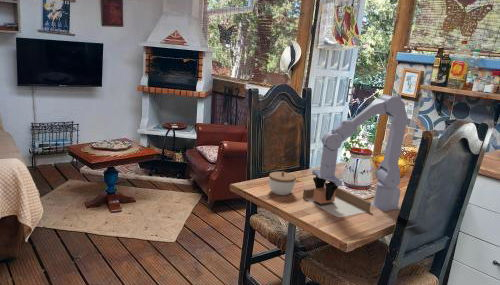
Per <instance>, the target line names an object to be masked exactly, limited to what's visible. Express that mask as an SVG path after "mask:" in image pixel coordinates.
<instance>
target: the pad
mask: <svg viewBox="0 0 500 285" xmlns="http://www.w3.org/2000/svg"><path fill="white" fill-rule="evenodd" d="M311 202H313V203H315V204H316V205H315V204H314V205H315V206H317V205H318V206H320V207H321V206H326V205H332V204H336V203H334V202H328V203H322V204H320V203H318V202H316V201H315V200H314V201H311ZM311 202H310V203H311ZM313 203H312V204H313ZM318 206H317V207H318ZM320 207H319V208H320Z"/></svg>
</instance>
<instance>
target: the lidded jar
mask: <svg viewBox="0 0 500 285" xmlns="http://www.w3.org/2000/svg"><path fill="white" fill-rule="evenodd" d="M268 176H269V177H268V183H269V184H268V185H269V189H270V190H271V192H272V193H273V194H275V195H278V196H288V195H289V194H291V193H292V192H293V190H294V187H295V185H296V178H297V177H296V176H295V175H294V174H293V173H290V172H285V171H273V172H270V173H269V175H268Z"/></svg>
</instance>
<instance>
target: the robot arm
mask: <svg viewBox="0 0 500 285" xmlns="http://www.w3.org/2000/svg"><path fill="white" fill-rule="evenodd" d="M376 115H387V116H388V118H389V119H390V120H391V123H390V128H389V133H388V137H387V141H386V145H385V151H384V156H383V160H381V162H379V166H378V168H376V171H375V174H374V175H375V178H376V179H377V181H376V185H375V186H376V187H375V192H374V198H373V201H372V202H371V205H370V206H373V207H375V208H377V209H379V210H381V211H383V212H385V211H387V212H388V211H392V210H399V209H400V206H399V202H400V197H401V189H400V187H399V185H400V184H401V181H402V180H401V168H400V166H399V161H400V157H401V151H402V149H403V148H402V147H403V142H404V138H405V137H404V136H405V134H406V129H407V124H408V119H409V118H408V114H407V111H406V103H405V102H404V101H403V100H402V99H401V97H398V96H393V95H390V94H387V93H386V94H381V95H379V96H378V97H376V98H375V99H374V100H373V101H372V102H371V103H370V104H369V105H368V106H367V107H365V108H363V110H361V111H360V112H359V113H358V114H357V115H356V116H354V117H353V118H352V119H346V120H344V119H343V120H341V123H340V124H339V125H338V126H336V127H335V128H332V129H331V130H330V132H326V133H325V134H324V135H323V137H322V138H321V144H322V146H323V147H322V151H321V160H320V167H319V170H318V169H312V170H311V175H312V176H315V177H313V178H312V180H313V183H314V186H315V188H323V187H324V186H326V200H327V201H329V200H331V199H332V196H333V194H334V192H335V190H336V189H337V188H338V187H339V188H340V187H343V186H342V185H343V180H341V179H339V178H338V177H337V176H335V174H336V168H337V162H338V151H339V149H341V146H342V145H343V142H345V141H346V140H347V139H348V138H350V137H352V136H353V135H354V134H356V133H357V131H358V128H359V126H360V125H363V124H364V123H365V122H367V121H368V120H370V119H371V118H373V117H374V116H376Z"/></svg>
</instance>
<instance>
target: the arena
mask: <svg viewBox="0 0 500 285" xmlns="http://www.w3.org/2000/svg"><path fill="white" fill-rule="evenodd" d="M324 187H326V186H325V185H324ZM315 188H316V187H311V188H304V189H303V192H302V199H304V200H306V201H308V202H309V203H312V204H313V205H315V206H317V207H318V208H320V209H322V210H324V211H325V212H328V213H329V214H331V215H333V216H335V217H337V218H338V219H339V218H344V217H348V216H352V215H353V216H354V215H358V214H363V213H368V212H370V210H371V206H372V205H371V203H372V202H371V201H370V200H366V199H365V198H362V197H359V196H357V195H356V194H354V193H351V192H349V191H347V190H345V189H343V188H340V186H339V187H338V188H337V189H336V193H335V200H334V203H336V204H332V205H326V206H321V207H320V206H318V205H316V204H315V203H313V202H311V201H314V200H313V195H314V189H315Z"/></svg>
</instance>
